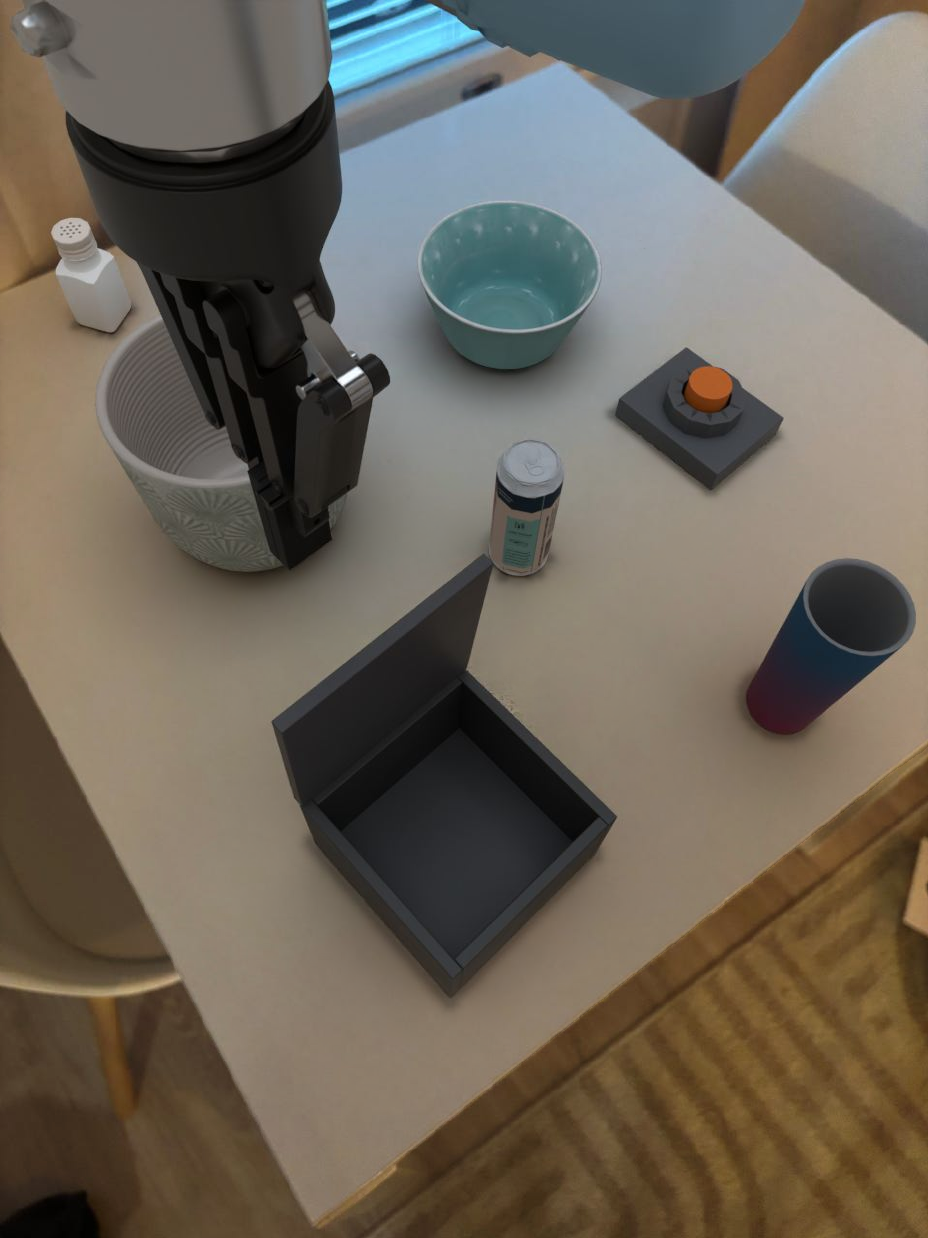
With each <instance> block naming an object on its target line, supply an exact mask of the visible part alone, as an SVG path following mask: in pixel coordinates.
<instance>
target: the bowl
mask: <svg viewBox="0 0 928 1238" xmlns="http://www.w3.org/2000/svg"><path fill="white" fill-rule="evenodd" d="M602 268H603V267H602V260H601V257H600V254H599V251H598V248H597V247H596V245H595V243H594V242H593V240H592V239H591V237H590V236H589V234H588V233H587V232H586V231H585V230H583V228H582V227H581V226H580V225H578V224H577V223H576V222H575V221H573V220H572V219H570V218H569V217H567V216H566V215H564V214H563V213H560V212H558V211H556V210H554V209H552V208H549V207H547V206H543V205H540V204H535V203H531V202H526V201H521V200H489V201H484V202H483V201H482V202H479V203H474V204H470V205H468V206H464V207H462V208H460V209H457V210H455V211H453V212H451V213H449V214H448V215H446V216H444V217H443V218H441V219H440V220H439V221H438V222H437V223H435V224H434V226H432V227H431V229H430V230H429V231H428V232H427V234H426V235H425V237H424V239H423V240H422V242H421V245H420V247H419V250H418V254H417V273H418V277H419V281H420V283H421V285H422V288H423V290H424V292H425V295H426V298H427V299H428V302H429V304H430V306H431V309H432V311H433V312H434V315H435V317H436V319H437V321H438V323H439V325H440V327H441V329H442V332H443V333H444V335H445V338H446V339H447V341H448V342H449V344H450V345H451V346H452V347H453V348H454V350H456V351H457V352H458V353H459V354H460V355H461V356H462V357H464V358H466V359H467V360H469V361H470V362H473V363H475V364H477V365H480V366H483V367H487V368H491V369H497V370H518V369H522V368H527V367H530V366H534V365H537V364H538V363H540V362H542V361H544V360H546V359H547V358H549V357H550V356H551V355H552V354H553V353H555V352H556V350H557V349H559V348H560V346H561V345H562V344H563V342H564V340H565V339H566V338H567V337H568V335H569V334H570V333H571V331H572V330H573V329H574V328H575V326H576V325H577V323H578V322H579V321H580V319H581V318H582V316H583V315H584V313H585V312H586V310H588V308H589V306H590V305H591V303H592V302H593V301H594V299H595V297H596V295H597V293H598V292H599V291H598V290H599V289H600V285H601V281H602V275H603V269H602Z"/></svg>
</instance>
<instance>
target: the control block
mask: <svg viewBox="0 0 928 1238" xmlns="http://www.w3.org/2000/svg"><path fill="white" fill-rule="evenodd" d="M705 366H710V367H716V368H718V369H721V370H723V371H724V372H725V373H727V374H728V375H729V377H730V378H731V380H732V390H731V393H730V395H729V398H728V400H727V403H726V405H725V406H724V408H722V409H721V410H720V411H718V412H714V413H705V412H701V411H697V410H695V409H694V408H692V407H691V406H690V405H689V404H688V403H687V401H686V399H685V395H684V393H685V389H686V386H687V383H688V381H689V378H690V375H691V373H692V372H693V371H694V370H696V369H698V368H700V367H705ZM614 415H615V416H616V417H617V418H618V419H619V420H621V421H622V422H623V423H624V424H626V425H627V426H628V427H630V428H631V429H632V430H634V431H635V432H636V433H637V434H639V435H640V436H641V437H643V438H644V439H645V440H646V441H647V442H649V443H650V444H651V445H652V446H654V447H655V448H656V449H658V450H659V451H660V452H662V453H663V454H664V455H665V456H667V457H668V458H669V459H670V460H672V461H673V462H675V464H677V465H678V466H679V467H681V468H682V469H683V470H684V471H686V472H687V473H688V474H689V475H691V476H692V477H693V478H694V479H696V480H697V481H698V482H700V483H701V484H702V485H703V486H705V487H706V488H708V490H710V491H711V490H713V489H714V488H716V486H718V485H719V484H720V483H721V482H722V481H724V479H726V478H727V477H728V476H729V475H731V474H732V473H733V472H734V471H736V469H738V468H739V467H740V466H741V465H742V464H743V463H745V461H747V460H748V459H749V458H750V457H752V456H753V455H754V454H755V453H756V452H757V451H758V450H759V449H761V448H762V447H764V445H766V444H767V443H768V442H769V441H770V440H772V439H773V438H774V437H775V436H776V435H777V433H778V431H779V429H780V427H781V425H782V423H783V422H784V417H783V416H782V415H780V414H779V413H778V412H777V411H775V410H774V409H772V408H771V407H770V406H768V405H767V404H766V403H764V402H763V401H761V400H760V399H758V397H756V396H755V395H753V394H752V393H751V392H749V391H748V390H746V389H745V388H743V386H742V384H741V382H740V381H739V379H738V378H737V377H735V376H733V374H731V373H730V372H728V371H727V370H725V369H724V368H721V367H718V366H713V365H712V364H710V363H709V362H708V361H706V359H704V358H702V357H701V356H700V355H699V354H697V353H695V352H694V351H693V350H691V349H690V348H689V347H687V346H686V347H684V348H683V349H682V350H680V351H679V352H678V353H676V354H675V355H674V356H673V357H671V358H670V359H669V360H668V361H666V362H664V364H662V365H661V366H659V367H658V368H657V369H656V370H655V371H653V372H652V373H650V374H649V375H648V376H646V377H645V378H644V379H642V381H640V382H639V383H637V384H636V385H635V386H634V387H632V388H631V389H629V390H628V391H627V392H626V393H624V394H622V396H620V397H619V398H618V402H617V406H616V410H615V413H614Z"/></svg>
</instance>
